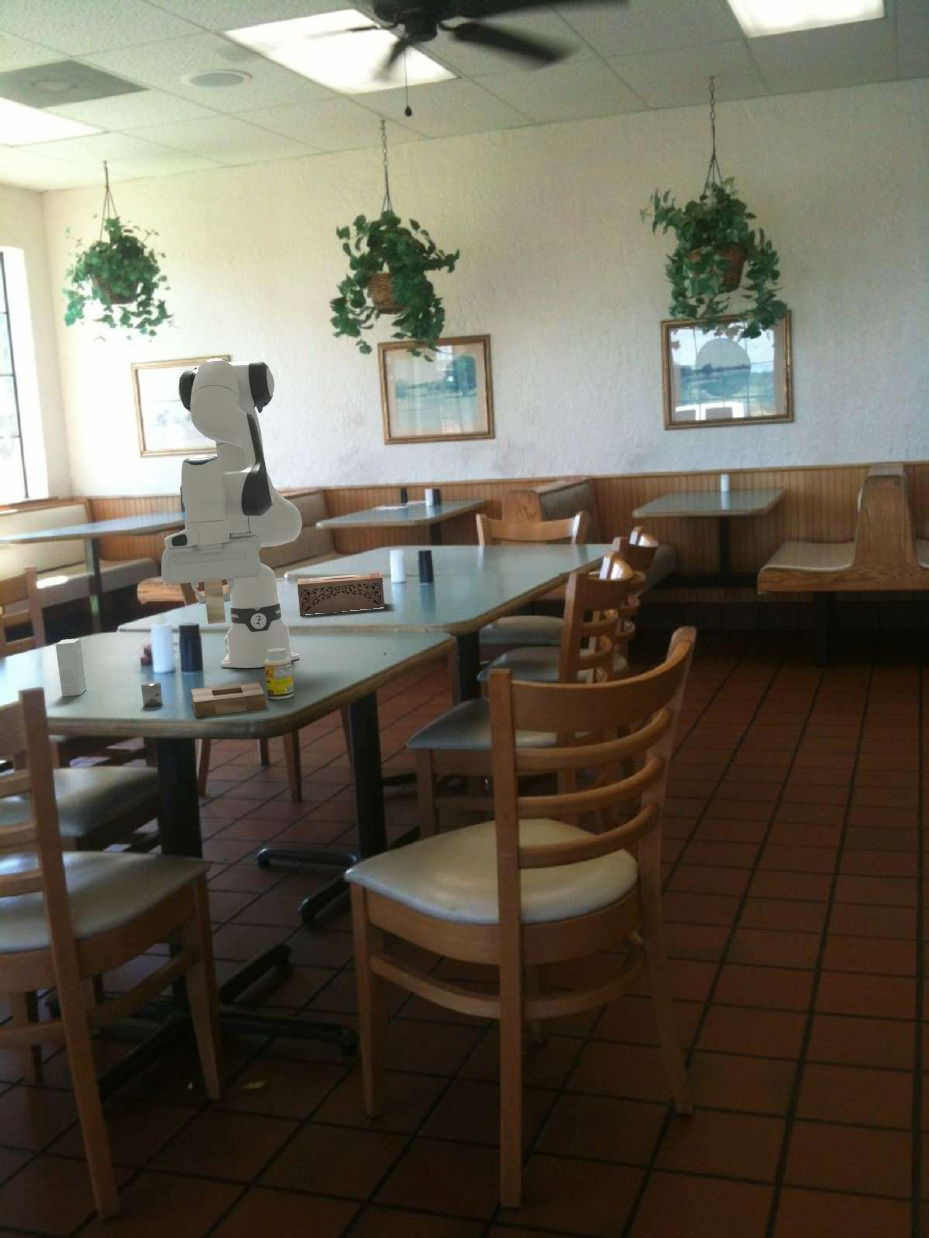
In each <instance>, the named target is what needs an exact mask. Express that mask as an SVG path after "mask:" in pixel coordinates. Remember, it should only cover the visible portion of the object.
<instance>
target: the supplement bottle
mask: <svg viewBox="0 0 929 1238" xmlns="http://www.w3.org/2000/svg"><path fill="white" fill-rule="evenodd" d="M286 656H287V653H286V649H285V648H273V649H269V650H267V657H268V659H266V660H265V661H264V666H265V667H264V674H265V684H266V685H265V686H266V694H267V698H268V699H270V700H273V701H275V700H276V701H277V700H278V701H279V700H287V699H289V698H293V697H294V694H295V692H294V677H293V668H292V660H291V659H290V658H289V657H286Z"/></svg>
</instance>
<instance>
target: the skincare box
mask: <svg viewBox="0 0 929 1238" xmlns="http://www.w3.org/2000/svg"><path fill="white" fill-rule="evenodd" d="M81 642H82V641H81V638H71V639H70V638H67V639H62V640H60V641H58V642H57V643H56V644H55V651H56V659H57V667H58V674H59V681H60V682H59V683H60V690H61V696H62V697H72V696H73V697H74V696H80V695H82V694H83V693H84V692H85V691H86V690H87V683H86V676H85V667H84V660H83V652H82V651H83V650H82V643H81Z"/></svg>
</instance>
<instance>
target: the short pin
mask: <svg viewBox="0 0 929 1238" xmlns="http://www.w3.org/2000/svg"><path fill="white" fill-rule="evenodd" d="M140 686H141V697H142V705H143V706H142V707H143V708H156V707H161V706H163V705H164V704H163V702H164V701H163V694H162V693H163V692H162V683H161V682H157V681H155V682H146V683H143V684H141V685H140Z"/></svg>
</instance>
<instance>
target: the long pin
mask: <svg viewBox="0 0 929 1238" xmlns="http://www.w3.org/2000/svg"><path fill="white" fill-rule="evenodd" d="M203 589H204V595H206V599H205V600H206V604H205V608H206V609H205V610H206V621H207V624H208V625H213V624H224V623H226V622H227V620H226V610H225V602H224V598H223V593H224V590H223V580H222V578H214V579H204V581H203Z"/></svg>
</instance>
